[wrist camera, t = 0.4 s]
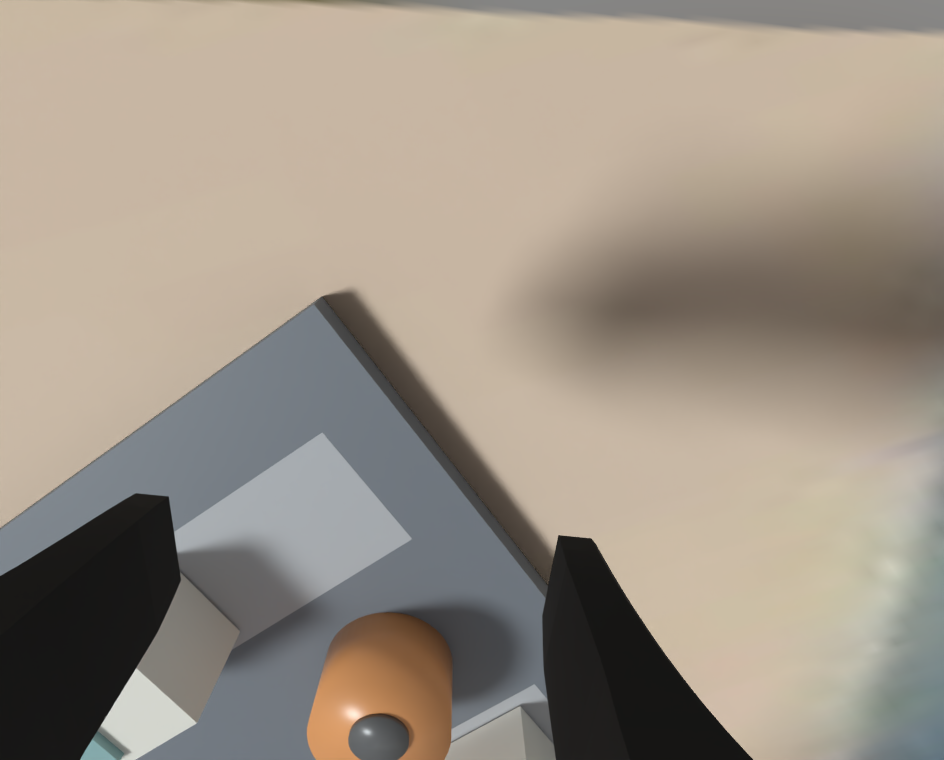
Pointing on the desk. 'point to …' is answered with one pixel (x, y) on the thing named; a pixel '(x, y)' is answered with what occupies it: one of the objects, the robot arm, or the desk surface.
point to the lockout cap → (384, 692)
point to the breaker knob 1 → (168, 679)
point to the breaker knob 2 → (504, 740)
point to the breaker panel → (314, 537)
